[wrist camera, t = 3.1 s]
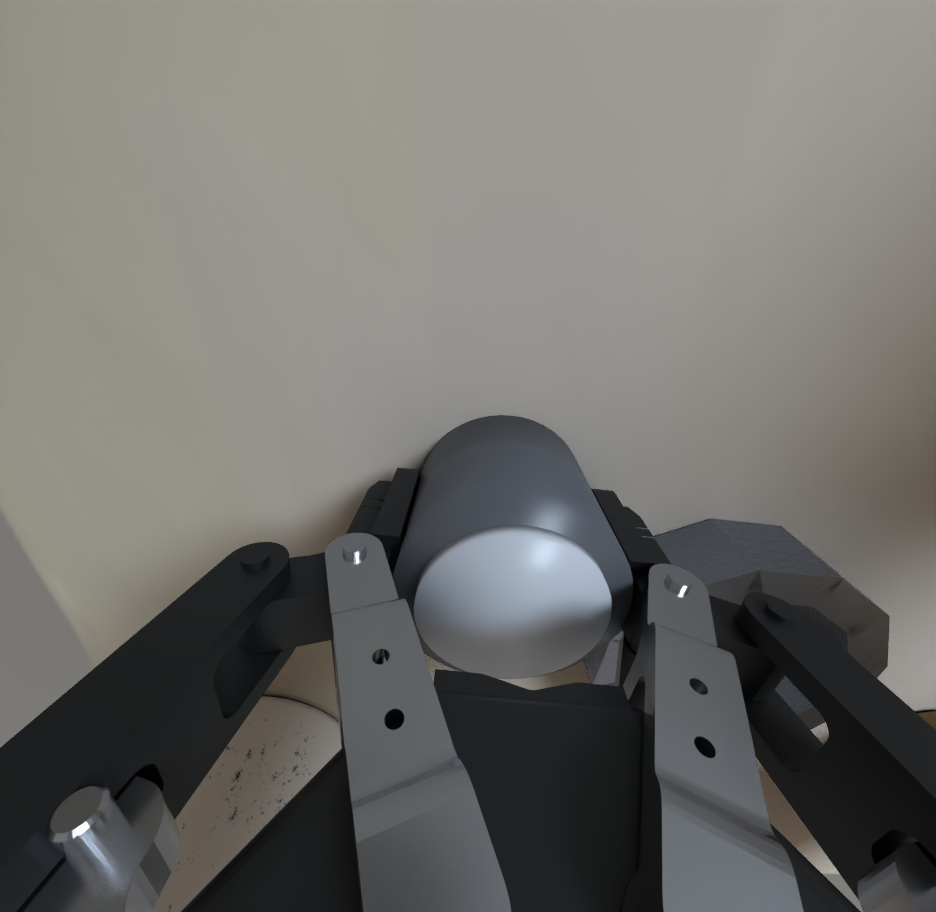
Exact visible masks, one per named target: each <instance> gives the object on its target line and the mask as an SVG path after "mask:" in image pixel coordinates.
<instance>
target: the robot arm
mask: <svg viewBox="0 0 936 912" xmlns="http://www.w3.org/2000/svg"><path fill="white" fill-rule="evenodd" d="M419 480H420V470H416V469H406V468H397V470H396V473H395V475H394V478H393V480H392V482H388V481H379V482H377V483H376V484H374V485H373V486H372V487H370V488H369V490H368V492H367V494H366V496H365V498H364V500H363V502H362V504H361V506H360V508H359V509H358V511H357V513H356V515H355V517H354V519H353V521H352V523H351V525H350V527H349V529H348V531H347V533H346V534H345V535H342V536H340V537H338V538H336V539H334V540H333V541H332V542H330V544H329V545H328V546H327V548H326V550H325V552H323V553H320V554H316V555H310V556H302V557H294V558H289V553H288V551H287V549H286V548H285V547H284V546H282V545H280V544H277V543H272V542H259V543H253V544H249V545H246V546H244V547H241V548H239V549H237V550H236V551H234V552H232V553H231V554H230V555H228V556H227V557H226V558H225V559H224V560H223V561H221V562H220V563H219V564H218V565H217V566H215V567H214V568H213V569H212V570H211V571H209V572H208V573H207V574H206V575H205V576H204V577H202V578H201V579H200V580H199V581H198V582H196V583H195V584H194V585H193V586H192V587H190V588H189V589H188V590H187V591H186V592H185V593H183V594H182V595H181V596H180V597H179V598H177V599H176V600H175V601H174V602H173V603H171V604H170V605H169V606H168V607H167V608H166V609H164V610H163V611H162V612H161V613H160V614H158V615H157V616H156V617H155V618H154V619H153V620H151V621H150V622H149V623H148V624H147V625H145V626H144V627H143V628H142V629H141V630H139V631H138V632H137V633H136V634H135V635H134V636H132V637H131V638H130V639H129V640H128V641H126V642H125V643H124V644H123V645H122V646H120V647H119V648H118V649H117V650H116V651H115V652H113V653H112V654H111V655H110V656H109V657H107V658H106V659H105V660H104V661H103V662H101V663H100V664H99V665H98V666H97V667H96V668H94V669H93V670H92V671H91V672H90V673H88V674H87V675H86V676H85V677H84V678H83V679H81V680H80V681H79V682H78V683H77V684H75V685H74V686H73V687H72V688H71V689H69V690H68V691H67V692H66V693H65V694H64V695H62V696H61V697H60V698H59V699H58V700H56V702H54V703H53V704H52V705H50V706H49V707H48V708H47V709H46V710H45V711H43V712H42V713H41V714H40V715H39V716H37V717H36V718H35V719H34V720H33V721H32V722H30V723H29V724H28V725H27V726H26V727H24V728H23V729H22V730H21V731H20V732H19V733H17V734H16V735H15V736H14V737H13V738H11V739H10V740H9V741H8V742H7V743H6V744H4V745H3V746H2V747H1V748H0V912H153V909H154V907H155V905H156V902H157V900H158V897H159V895H160V893H161V891H162V890H163V888H164V886H165V884H166V882H167V880H168V878H169V876H170V875H171V873H172V870H173V868H174V865H175V863H176V860H177V856H178V852H179V846H180V833H179V829H178V826H177V824H176V822H175V819H176V818H177V816H178V815H179V813H180V812H181V811H182V809H183V808H184V806H185V805H186V803H187V802H188V801H189V799H190V798H191V796H192V795H193V794H194V792H195V791H196V789H197V788H198V786H199V785H200V784H201V782H202V781H203V779H204V778H205V776H206V775H207V774H208V772H209V771H210V769H211V768H212V767H213V765H214V764H215V762H216V761H217V759H218V758H219V757H220V755H221V754H222V752H223V751H224V749H225V748H226V747H227V745H228V744H229V742H230V741H231V740H232V738H233V737H234V735H235V734H236V732H237V731H238V730H239V728H240V727H241V725H242V724H243V722H244V721H245V720H246V718H247V717H248V715H249V714H250V713H251V711H252V710H253V708H254V707H255V705H256V704H257V703H258V701H259V700H260V698H261V697H262V695H263V694H264V693H265V691H266V690H267V688H268V687H269V686H270V684H271V683H272V681H273V680H274V678H275V677H276V676H277V674H278V673H279V671H280V670H281V668H282V667H283V666H284V664H285V663H286V661H287V660H288V659H289V657H290V656H291V654H292V653H293V651H294V650H295V648H296V647H297V646H302V645H307V644H312V643H317V642H322V641H328V640H331V643H332V654H333V664H334V675H335V685H336V695H337V707H338V719H339V730H340V741H341V749H340V750H339V751H338V752H337V753H336V755H335V756H334V757H333V758H332V759H331V760H330V761H329V762H328V763H327V764H326V765H325V766H324V767H323V768H322V769H321V770H320V771H319V772H318V773H317V774H316V775H315V776H314V777H313V778H312V779H311V780H310V781H309V782H308V783H307V784H306V785H305V786H304V787H303V788H302V789H301V790H300V791H299V792H298V793H297V794H296V795H295V796H294V797H293V798H292V799H291V800H290V801H289V802H288V803H287V804H286V805H285V806H284V807H283V808H282V809H281V810H280V811H279V812H278V813H277V814H276V815H275V816H274V817H273V818H272V819H271V820H270V821H269V822H268V823H267V825H266V826H265V827H264V828H263V829H262V830H261V831H260V832H259V833H258V834H257V835H256V836H255V837H254V838H253V839H252V840H251V841H250V842H249V843H248V844H247V845H246V846H245V847H244V848H243V849H242V850H241V851H240V852H239V853H238V854H237V855H236V856H235V857H234V858H233V859H232V860H231V861H230V862H229V863H228V864H227V865H226V866H225V867H224V868H223V869H222V870H221V871H220V872H219V873H218V874H217V875H216V876H215V877H214V878H213V879H212V880H211V881H210V882H209V883H208V884H207V885H206V886H205V887H204V888H203V889H202V890H201V891H200V892H199V894H198V895H197V896H196V897H195V898H194V899H193V900H192V901H191V902H190V903H189V904H188V905H187V906H186V907H185V908H184V909H183V910H182V911H181V912H861V911H859V910H858V909H857V908H856V907H855V906H854V905H853V904H852V903H851V902H850V901H849V900H848V899H847V898H846V897H845V896H844V895H843V894H842V893H841V892H840V891H839V890H838V889H837V888H836V887H835V886H834V885H833V884H832V883H831V882H830V881H829V880H828V879H827V878H826V877H825V876H823V874H822V873H821V872H820V871H819V870H817V869H816V868H815V867H814V866H813V865H812V864H811V863H810V862H809V861H808V860H807V859H806V858H805V857H804V856H803V855H802V854H801V853H800V852H799V851H798V850H797V849H796V848H795V847H794V846H793V845H792V844H791V843H790V842H789V841H788V840H787V839H786V838H785V837H784V836H783V835H782V834H781V833H780V832H779V831H778V830H777V829H775V828H774V827H773V826H772V825H771V824H770V821H769V817H768V812H767V808H766V803H765V798H764V793H763V789H762V784H761V779H760V774H759V770H758V765H757V760H756V757H757V759H758V760H759V762H760V763H761V764H762V766H763V767H764V769H765V770H766V771H767V773H768V774H769V776H770V777H771V778H772V780H773V781H774V783H775V784H776V785H777V787H778V788H779V789H780V791H781V792H782V794H783V795H784V796H785V798H786V799H787V801H788V802H789V803H790V805H791V806H792V808H793V809H794V810H795V812H796V813H797V815H798V816H799V817H800V819H801V820H802V822H803V823H804V824H805V826H806V827H807V828H808V830H809V831H810V833H811V834H812V835H813V837H814V838H815V840H816V841H817V842H818V844H819V845H820V847H821V848H822V849H823V851H824V852H825V854H826V855H827V856H828V858H829V859H830V861H831V862H832V863H833V865H834V866H835V867H836V869H837V870H838V872H839V873H840V874H841V876H842V877H843V879H844V880H845V881H846V883H847V884H848V886H849V887H850V888H851V890H852V891H853V893H854V894H855V895H856V897H857V898H858V899H859V901H860V904H861V907H862V910H863V912H936V730H935V729H934V728H933V727H932V726H931V725H929V724H928V723H927V722H926V721H925V720H924V719H923V718H921V717H920V716H919V715H918V714H917V713H916V712H915V711H913V710H912V709H911V708H910V707H909V706H908V705H907V704H905V703H904V702H903V701H902V700H901V699H900V698H899V697H897V696H896V695H895V694H894V693H893V692H892V691H891V690H889V689H888V688H887V687H886V686H885V685H884V684H883V683H881V682H880V681H879V680H878V679H877V678H876V677H875V676H873V675H872V674H871V673H870V672H869V671H868V670H867V669H865V668H864V667H863V666H862V665H861V664H860V663H859V662H857V661H856V660H855V659H854V658H853V657H852V656H851V655H849V654H848V653H847V652H846V651H845V650H844V649H843V648H841V647H840V646H839V645H838V644H837V643H836V642H835V641H833V640H832V639H831V638H830V637H829V636H828V635H827V634H825V633H824V632H823V631H822V630H821V629H820V628H819V627H817V626H816V625H815V624H814V623H813V622H812V621H811V620H809V619H808V618H807V617H806V616H805V615H804V614H803V613H801V612H800V611H799V610H798V609H796V608H795V607H793V606H792V605H790V604H789V603H787V602H785V601H783V600H781V599H779V598H777V597H774V596H772V595H769V594H765V593H759V592H753V593H749V594H747V595H746V596H745V598H744V600H743V601H742V603H741V605H739V604H736V603H732V602H729V601H726V600H723V599H720V598H717V597H714V596H711V595H709V594H708V590H707V588H706V587H705V585H704V584H703V583H702V582H701V581H700V580H699V579H698V578H697V577H696V576H694V575H693V574H692V573H690V572H688V571H686V570H684V569H682V568H680V567H677V566H674V565H672V564H671V563H670V561H669V560H668V558H667V557H666V555H665V554H664V552H663V551H662V549H661V548H660V546H659V545H658V543H657V542H656V540H655V539H653V535H652V534H651V532H650V531H649V530H647V526H646V525H645V523H644V522H643V520H642V519H641V517H640V516H638V515H637V514H636V513H635V512H633V511H632V510H631V509H630V508H628V507H623V505H622V504H621V502H620V501H619V499H618V497H617V496H616V494H615V493H614V492H613V491H609V490H600V489H591V490H592V492H593V494H594V496H595V498H596V500H597V502H598V504H599V505H600V507H601V509H602V511H603V513H604V515H605V517H606V519H607V521H608V523H609V525H610V527H611V529H612V531H613V533H614V535H615V536H616V538H617V540H618V542H619V544H620V546H621V548H622V550H623V552H624V554H625V556H626V558H627V561H628V563H629V565H630V569H631V573H632V577H633V597H632V603H631V606H630V609H629V613H628V615H627V617H626V619H625V621H624V623H623V625H622V626H621V628H622V630H623V635H622V638H621V640H620V643H619V650H618V659H617V668H616V677H615V686H609V685H599V684H588V683H572V684H567V685H561V686H556V687H550V688H545V689H539V690H528V689H525V688H522V687H519V686H516V685H513V684H510V683H507V682H505V681H502V680H499V679H496V678H493V677H490V676H487V675H484V674H481V673H470V672H459V671H449V670H438V669H435V676H434V684H433V681H432V678H431V675H430V672H429V668H428V665H427V662H426V659H425V656H424V653H423V650H422V647H421V644H420V640H419V637H418V634H417V631H416V628H415V625H414V622H413V619H412V616H411V612H410V609H409V606H408V603H407V601H406V599H405V598H404V597H402V598H399V597H398V594H397V591H396V588H395V584H394V581H393V578H392V577H393V573H394V570H395V566H396V563H397V559H398V556H399V552H400V549H401V545H402V541H403V538H404V534H405V531H406V527H407V523H408V520H409V516H410V513H411V509H412V506H413V502H414V498H415V495H416V491H417V488H418V484H419ZM785 676H786V677H787V678H788V679H789V680H790V681H791V682H792V683H793V684H794V686H795V687H796V688H797V689H798V690H799V691H800V692H801V693H802V694H803V695H804V696H805V697H806V698H807V700H808V701H809V702H810V703H811V704H812V705H813V706H814V707H815V708H816V709H817V710H818V711H819V713H820V714H821V715H822V717H823V718H824V720H825V722H826V724H827V727H828V731H829V737H828V740H827V742H826V743H825V744H824V745H823V744H822V743H821V742H820V741H819V740H818V738H817V737H816V736H815V735H814V734H813V733H812V732H811V730H810V729H809V728H808V727H807V726H806V725H805V724H804V722H803V721H802V720H801V719H800V718H799V717H798V716H797V714H796V713H795V712H794V711H793V710H792V709H791V708H790V706H789V705H788V704H787V703H786V702H785V701H784V700H783V698H782V697H781V696H780V695H779V694H778V693H777V692H776V690H775V689H776V688H777V686H778V685H779V684H780V682H781V681H782V679H783V678H784V677H785Z"/></svg>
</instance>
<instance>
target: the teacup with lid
mask: <svg viewBox="0 0 936 912" xmlns="http://www.w3.org/2000/svg"><path fill="white" fill-rule="evenodd" d="M340 749H341V741H340V730H339V722H338V721H336V720H335V719H334V718H332V717H331V716H329V715H328V714H326V713H324V712H322V711H320V710H318V709H316V708H314V707H312V706H309V705H306V704H303V703H300V702H297V701H293V700H289V699H284V698H278V697H269V696H262V697H261V698H260V700H259V701H258V703H257V704H256V705H255V707H254V708H253V710H252V711H251V713H250V714H249V715H248V717H247V718H246V720H245V721H244V722H243V724H242V725H241V727H240V728H239V730H238V731H237V732H236V734H235V735H234V737H233V738H232V740H231V741H230V742H229V744H228V745H227V747H226V748H225V749H224V751H223V752H222V754H221V755H220V757H219V758H218V759H217V761H216V762H215V764H214V765H213V767H212V768H211V769H210V771H209V772H208V774H207V775H206V776H205V778H204V779H203V781H202V782H201V784H200V785H199V786H198V788H197V789H196V791H195V792H194V794H193V795H192V796H191V798H190V799H189V801H188V802H187V803H186V805H185V806H184V808H183V809H182V811H181V812H180V813H179V815H178V816H177V818H176V819H175V822H176V824H177V826H178V829H179V833H180V846H179V852H178V856H177V860H176V863H175V865H174V868H173V870H172V873H171V875H170V876H169V878H168V880H167V882H166V884H165V886H164V888H163V890H162V891H161V893H160V895H159V897H158V900H157V902H156V905H155V907H154V909H153V912H181V911H182V910H183V909H184V908H185V907H186V906H187V905H188V904H189V903H190V902H191V901H192V900H193V899H194V898H195V897H196V896H197V895H198V894H199V892H200V891H201V890H202V889H203V888H204V887H205V886H206V885H207V884H208V883H209V882H210V881H211V880H212V879H213V878H214V877H215V876H216V875H217V874H218V873H219V872H220V871H221V870H222V869H223V868H224V867H225V866H226V865H227V864H228V863H229V862H230V861H231V860H232V859H233V858H234V857H235V856H236V855H237V854H238V853H239V852H240V851H241V850H242V849H243V848H244V847H245V846H246V845H247V844H248V843H249V842H250V841H251V840H252V839H253V838H254V837H255V836H256V835H257V834H258V833H259V832H260V831H261V830H262V829H263V828H264V827H265V826H266V825H267V823H268V822H269V821H270V820H271V819H272V818H273V817H274V816H275V815H276V814H277V813H278V812H279V811H280V810H281V809H282V808H283V807H284V806H285V805H286V804H287V803H288V802H289V801H290V800H291V799H292V798H293V797H294V796H295V795H296V794H297V793H298V792H299V791H300V790H301V789H302V788H303V787H304V786H305V785H306V784H307V783H308V782H309V781H310V780H311V779H312V778H313V777H314V776H315V775H316V774H317V773H318V772H319V771H320V770H321V769H322V768H323V767H324V766H325V765H326V764H327V763H328V762H329V761H330V760H331V759H332V758H333V757H334V756H335V755H336V753H337V752H338V751H339V750H340Z"/></svg>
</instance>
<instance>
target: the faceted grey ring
mask: <svg viewBox="0 0 936 912" xmlns="http://www.w3.org/2000/svg"><path fill="white" fill-rule="evenodd" d="M653 539H655V540H656V542H657V543H658V545H659V546H660V548H661V549H662V551H663V552H664V554H665V555H666V557H667V558H668V560H669V561H670V563H671V564H672V565H674V566H677V567H680V568H682V569H684V570H686V571H688V572H690V573H692V574H693V575H694V576H696V577H697V578H698V579H699V580H700V581H701V582H702V583H703V584H704V585H705V587H706V588H707V590H708V594H709V595H711V596H714V597H717V598H720V599H723V600H726V601H729V602H732V603H736V604H741V603H742V601H743V600H744V598H745V596H746V595H747V594H749V593H753V592H759V593H765V594H769V595H772V596H774V597H777V598H779V599H781V600H783V601H785V602H787V603H789V604H792V606H793V607H795V608H796V609H798V610H799V611H800V612H801V613H803V614H804V615H805V616H806V617H807V618H808V619H809V620H811V621H812V622H813V623H814V624H815V625H816V626H817V627H819V628H820V629H821V630H822V631H823V632H824V633H825V634H827V635H828V636H829V637H830V638H831V639H832V640H833V641H835V642H836V643H837V644H838V645H839V646H840V647H841V648H843V649H844V650H845V651H846V652H847V653H848V654H849V655H851V656H852V657H853V658H854V659H855V660H856V661H857V662H859V663H860V664H861V665H862V666H863V667H864V668H865V669H867V670H868V671H869V672H870V673H871V674H872V675H873V676H875V677H876V678H877V677H878V676H879V675H880V674H881V673H882V672H883V671H884V669H885V668H886V667H887V663H888V639H889V617H890V616H889V615H888V614H886V613H885V612H884V611H883V610H882V609H880V608H879V607H878V606H877V605H876V604H874V603H873V602H872V601H871V600H870V599H869V598H867V597H866V596H865V595H864V594H863V593H861V592H860V591H859V590H858V589H857V588H855V587H854V586H853V585H852V584H851V583H849V582H848V581H847V580H846V579H845V578H843V577H842V576H841V575H840V574H839V573H837V572H836V571H835V570H834V569H833V568H832V567H830V566H829V565H828V564H827V563H826V562H824V561H823V560H822V559H820V558H819V557H818V556H817V555H815V554H814V553H813V552H812V551H811V550H809V549H808V548H807V547H806V546H804V545H803V544H802V543H801V542H799V541H798V540H797V539H796V538H795V537H793V536H792V535H791V534H790V533H788V532H787V531H786V530H785V529H784V528H783V527H781V526H773V525H763V524H754V523H745V522H735V521H726V520H716V519H709V520H706V521H703V522H700V523H696V524H693V525H690V526H687V527H684V528H680V529H677V530H674V531H671V532H667V533H664V534H661V535H658V536H654V537H653ZM622 635H623V630H622V628H621V627H620V629H619V630H618V632H617V633H616V634H615V635H614V637H613V638H612V639H611V640H610V641H609V642H608V643H607V644H606V645H605V646H603V647H602V648H601V649H600V650H599V651H597V652H596V653H594V654H593V655H591V656H590V657H588V658H587V659H585V660H584V662H585V666H586V669H587V673H588V677H589V680H590V684H599V685H609V686H615V677H616V668H617V659H618V650H619V643H620V640H621V638H622ZM775 690H776V692H777V693H778V694H779V695H780V696H781V697H782V698H783V700H784V701H785V702H786V703H787V704H788V705H789V706H790V708H791V709H792V710H793V711H794V712H795V713H796V714H797V716H798V717H799V718H800V719H801V720H802V721H803V722H804V724H805V725H806V726H807V727H808V728H809V729H810V730H811V729H813V728H815V727H817V726H819V725H821V724H823V723H825V720H824V718H823V717H822V715H821V714H820V713H819V711H818V710H817V709H816V708H815V707H814V706H813V705H812V704H811V703H810V702H809V701H808V700H807V698H806V697H805V696H804V695H803V694H802V693H801V692H800V691H799V690H798V689H797V688H796V687H795V686H794V684H793V683H792V682H791V681H790V680H789V679H788V678H787V677H786V676H785V677H784V678H783V679H782V681H781V682H780V684H779V685H778V686H777V688H776V689H775Z"/></svg>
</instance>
